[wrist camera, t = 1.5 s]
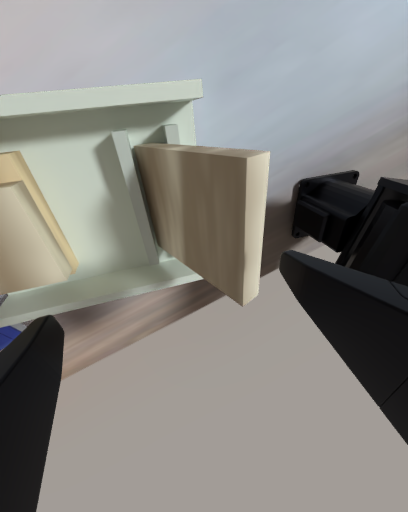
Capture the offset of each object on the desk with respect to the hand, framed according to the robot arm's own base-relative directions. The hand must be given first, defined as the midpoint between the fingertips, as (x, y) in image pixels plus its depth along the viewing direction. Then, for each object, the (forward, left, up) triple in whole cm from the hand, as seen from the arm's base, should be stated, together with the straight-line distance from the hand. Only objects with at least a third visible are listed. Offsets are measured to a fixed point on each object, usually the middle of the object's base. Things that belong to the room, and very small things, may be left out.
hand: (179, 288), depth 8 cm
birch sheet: (0, 0, -11) cm, 11 cm away
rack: (+5, 0, -12) cm, 13 cm away
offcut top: (+10, +1, -10) cm, 14 cm away
